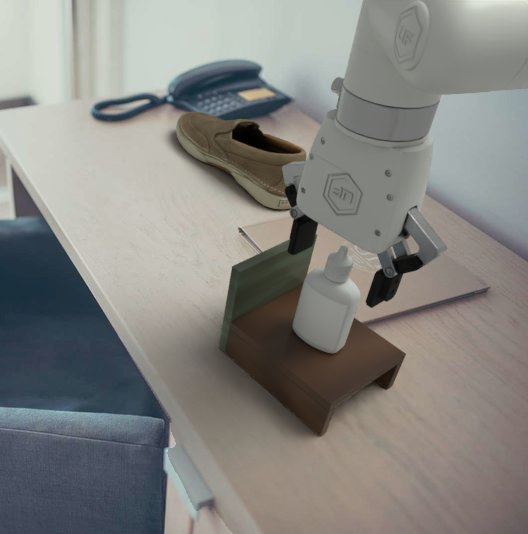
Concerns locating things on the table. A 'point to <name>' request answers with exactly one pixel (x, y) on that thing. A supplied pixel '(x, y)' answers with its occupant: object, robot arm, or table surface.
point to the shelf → (297, 340)
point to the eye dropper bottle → (327, 304)
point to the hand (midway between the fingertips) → (336, 274)
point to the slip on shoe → (241, 153)
